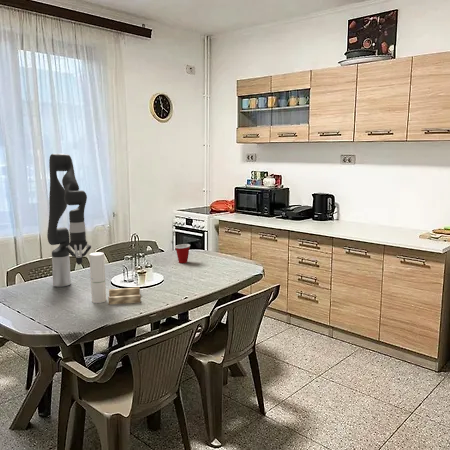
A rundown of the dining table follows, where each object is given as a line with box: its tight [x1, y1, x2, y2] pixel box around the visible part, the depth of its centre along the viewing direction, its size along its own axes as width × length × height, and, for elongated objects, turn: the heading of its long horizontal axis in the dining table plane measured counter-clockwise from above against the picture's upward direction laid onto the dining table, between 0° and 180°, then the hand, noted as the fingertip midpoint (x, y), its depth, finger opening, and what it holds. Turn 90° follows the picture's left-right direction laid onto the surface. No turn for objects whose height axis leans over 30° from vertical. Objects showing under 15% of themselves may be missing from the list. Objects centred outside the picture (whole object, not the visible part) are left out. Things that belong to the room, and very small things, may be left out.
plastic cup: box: [174, 243, 191, 264], centre depth 303 cm, size 11×11×12 cm
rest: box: [107, 286, 142, 305], centre depth 232 cm, size 16×14×4 cm
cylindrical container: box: [88, 251, 107, 304], centre depth 227 cm, size 7×7×25 cm
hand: (79, 264), depth 224 cm, fingers closed
